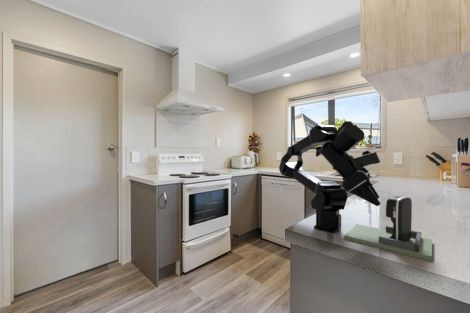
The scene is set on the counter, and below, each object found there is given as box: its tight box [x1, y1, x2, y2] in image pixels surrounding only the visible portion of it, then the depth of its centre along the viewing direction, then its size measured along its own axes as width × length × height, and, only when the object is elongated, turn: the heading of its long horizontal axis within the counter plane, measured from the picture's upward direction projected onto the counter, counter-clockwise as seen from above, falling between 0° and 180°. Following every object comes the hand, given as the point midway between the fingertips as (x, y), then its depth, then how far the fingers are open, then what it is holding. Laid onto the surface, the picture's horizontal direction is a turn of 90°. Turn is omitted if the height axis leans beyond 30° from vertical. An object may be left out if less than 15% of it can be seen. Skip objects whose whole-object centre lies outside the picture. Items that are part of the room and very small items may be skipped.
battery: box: [385, 195, 413, 242], centre depth 56 cm, size 7×4×11 cm, turn 122°
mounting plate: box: [343, 223, 433, 262], centre depth 58 cm, size 18×13×2 cm
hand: (378, 201), depth 60 cm, fingers open, 9 cm apart
